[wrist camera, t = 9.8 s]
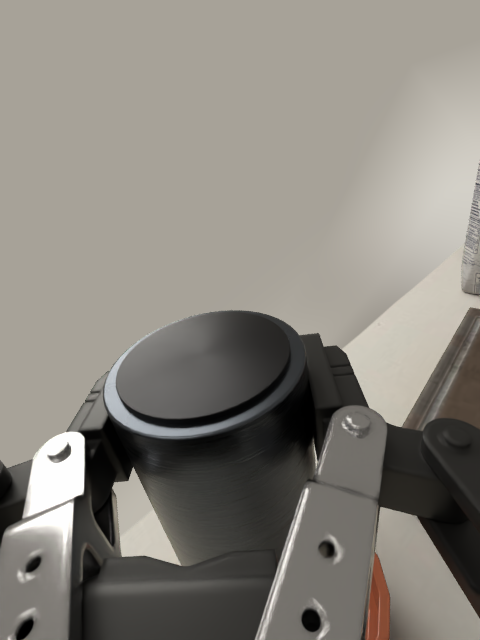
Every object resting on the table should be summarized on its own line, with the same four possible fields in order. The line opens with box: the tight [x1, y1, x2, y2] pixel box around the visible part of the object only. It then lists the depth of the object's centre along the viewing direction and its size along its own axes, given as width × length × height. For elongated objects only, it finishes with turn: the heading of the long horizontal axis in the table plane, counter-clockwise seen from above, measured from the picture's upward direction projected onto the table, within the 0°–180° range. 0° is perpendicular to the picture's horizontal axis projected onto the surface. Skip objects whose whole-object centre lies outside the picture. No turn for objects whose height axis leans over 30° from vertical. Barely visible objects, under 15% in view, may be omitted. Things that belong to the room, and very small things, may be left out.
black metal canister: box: [103, 311, 316, 566], centre depth 12 cm, size 6×6×11 cm
